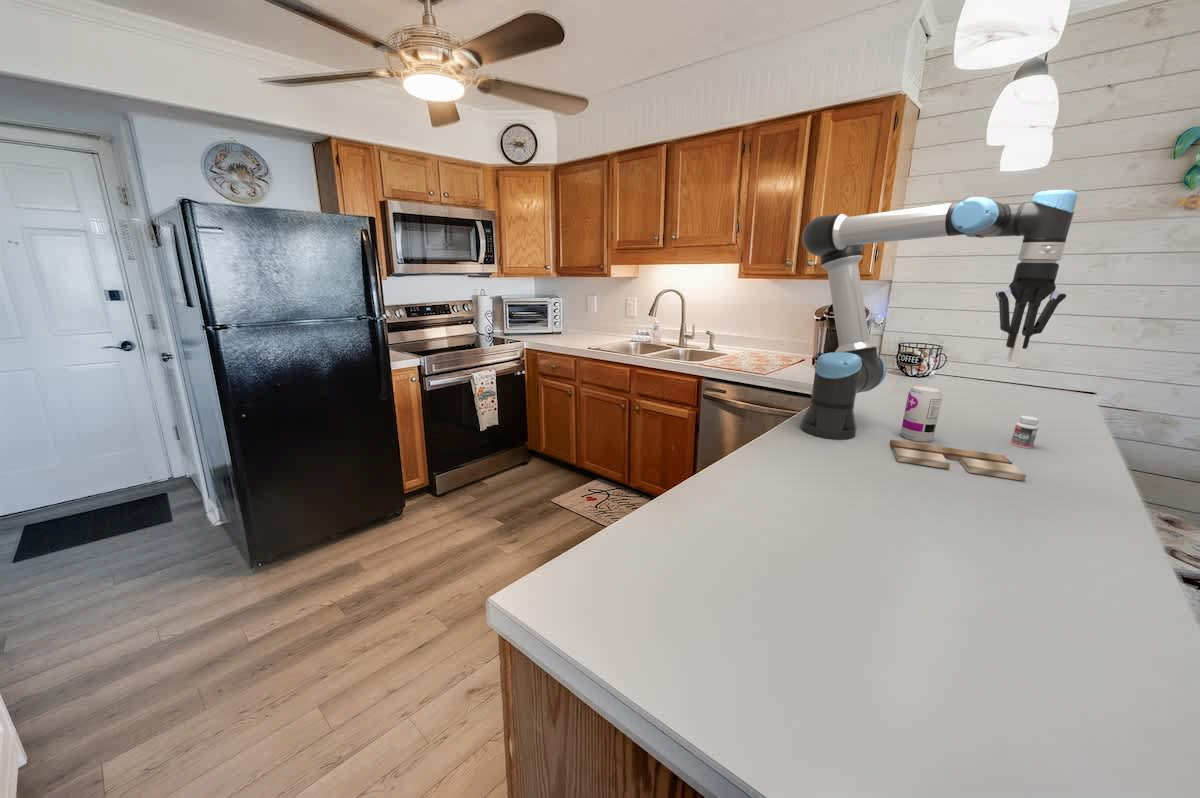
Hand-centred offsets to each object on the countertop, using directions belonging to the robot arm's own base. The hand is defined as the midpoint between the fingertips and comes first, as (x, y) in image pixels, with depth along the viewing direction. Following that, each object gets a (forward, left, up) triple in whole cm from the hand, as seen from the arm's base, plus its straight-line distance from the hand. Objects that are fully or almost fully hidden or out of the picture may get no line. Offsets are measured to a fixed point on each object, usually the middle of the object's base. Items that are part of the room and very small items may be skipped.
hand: (1012, 361), depth 118 cm
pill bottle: (+13, +19, -27) cm, 35 cm away
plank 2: (-1, -9, -26) cm, 28 cm away
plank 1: (-16, -9, -26) cm, 32 cm away
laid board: (-9, -1, -26) cm, 28 cm away
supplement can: (-14, +12, -27) cm, 32 cm away
